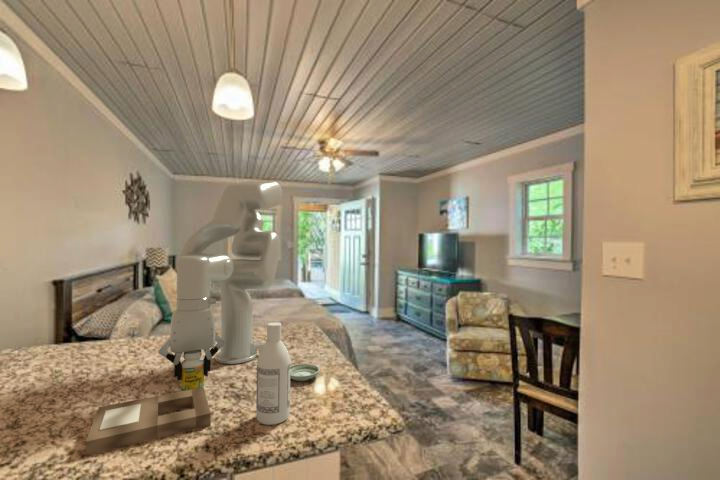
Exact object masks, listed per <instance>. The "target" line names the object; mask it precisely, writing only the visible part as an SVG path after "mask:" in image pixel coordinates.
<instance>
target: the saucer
mask: <svg viewBox="0 0 720 480" xmlns="http://www.w3.org/2000/svg"><path fill="white" fill-rule="evenodd" d="M320 371H321V368H320V367H319V366H318V365H315V364H313V363H312V364H311V363H298V364H292V365H290V380H291V379H292V380H293V381H295V382H307V381H310V380H311V379H314V378H315V377H316V376H317V375H318V374H319V373H320ZM309 379H310V380H309Z"/></svg>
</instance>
